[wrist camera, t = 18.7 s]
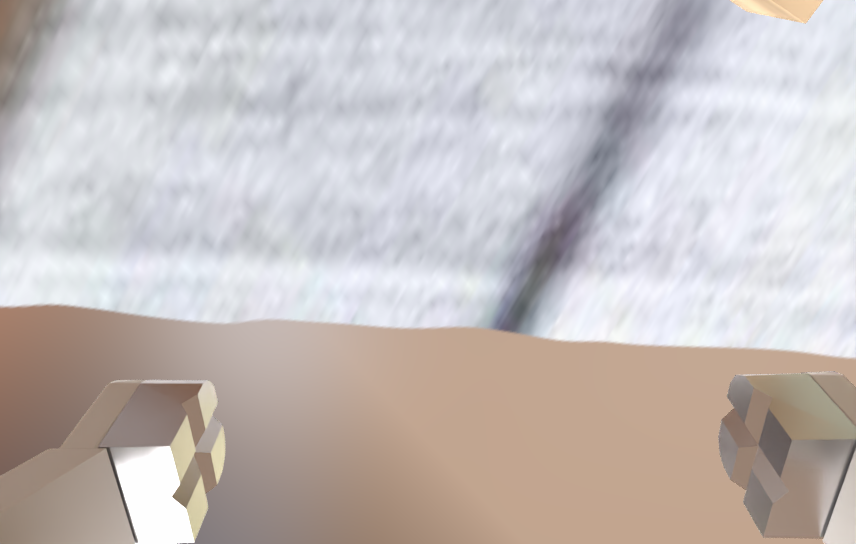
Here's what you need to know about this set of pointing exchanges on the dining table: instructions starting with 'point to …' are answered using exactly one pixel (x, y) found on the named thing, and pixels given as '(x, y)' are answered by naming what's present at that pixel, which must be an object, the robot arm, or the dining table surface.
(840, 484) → the robot arm
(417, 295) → the dining table surface
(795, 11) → the beech block
